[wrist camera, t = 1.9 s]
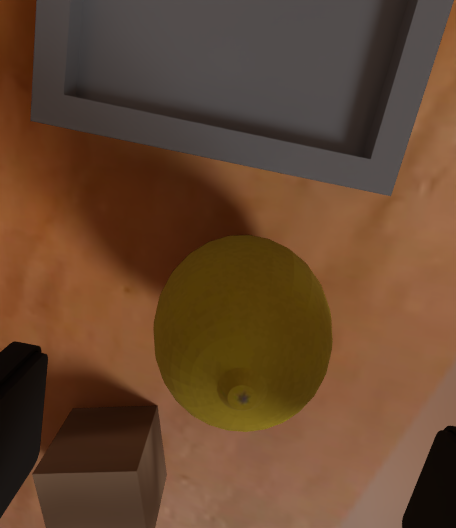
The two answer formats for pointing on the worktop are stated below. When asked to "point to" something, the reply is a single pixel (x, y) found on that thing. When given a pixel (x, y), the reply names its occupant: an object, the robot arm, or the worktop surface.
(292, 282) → the lemon
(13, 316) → the worktop surface
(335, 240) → the worktop surface
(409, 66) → the dish
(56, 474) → the metal cube
